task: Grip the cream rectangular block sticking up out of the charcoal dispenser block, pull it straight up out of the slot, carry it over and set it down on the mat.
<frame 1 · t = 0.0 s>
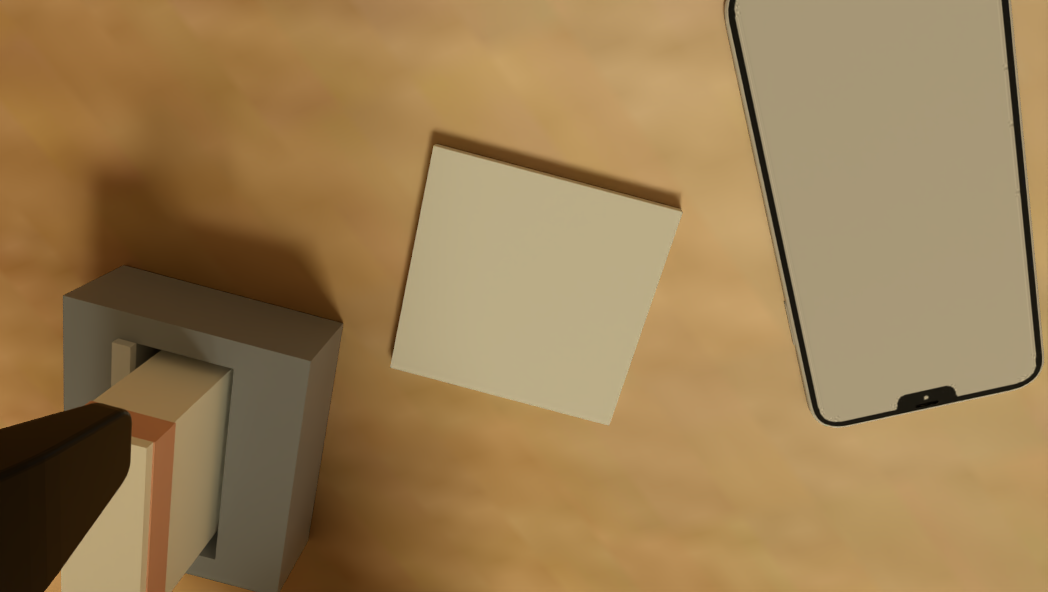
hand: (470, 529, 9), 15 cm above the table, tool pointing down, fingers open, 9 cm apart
dispenser: (222, 412, 26), on the table
smartphone: (884, 193, 22), on the table
cream rectangular block: (223, 411, 26), resting in dispenser
mat: (528, 290, 23), on the table
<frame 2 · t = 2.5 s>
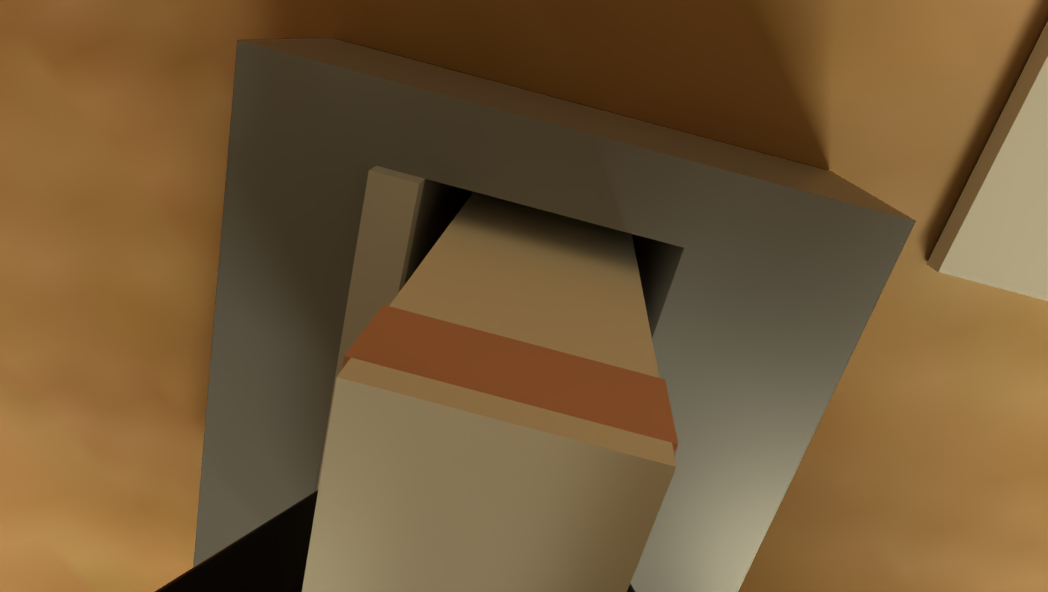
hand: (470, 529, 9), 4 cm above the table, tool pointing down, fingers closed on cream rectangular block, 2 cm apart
dispenser: (506, 380, 12), on the table
cream rectangular block: (507, 378, 13), resting in dispenser, touching gripper
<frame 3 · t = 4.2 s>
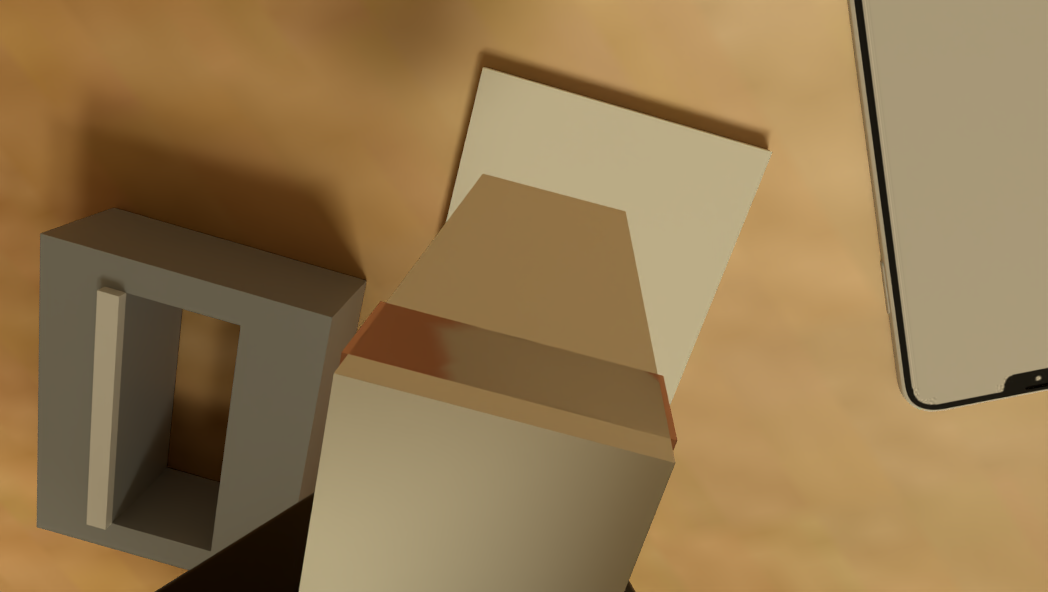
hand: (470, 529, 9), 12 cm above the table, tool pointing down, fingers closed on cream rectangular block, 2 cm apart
dispenser: (223, 383, 23), on the table
smartphone: (1005, 136, 19), on the table
cream rectangular block: (504, 376, 12), point 8 cm above the table, touching gripper
mat: (583, 244, 20), on the table
when the fingers open (5 cm above the table, at t = 5.8 s): cream rectangular block stays where it is, resting on mat.
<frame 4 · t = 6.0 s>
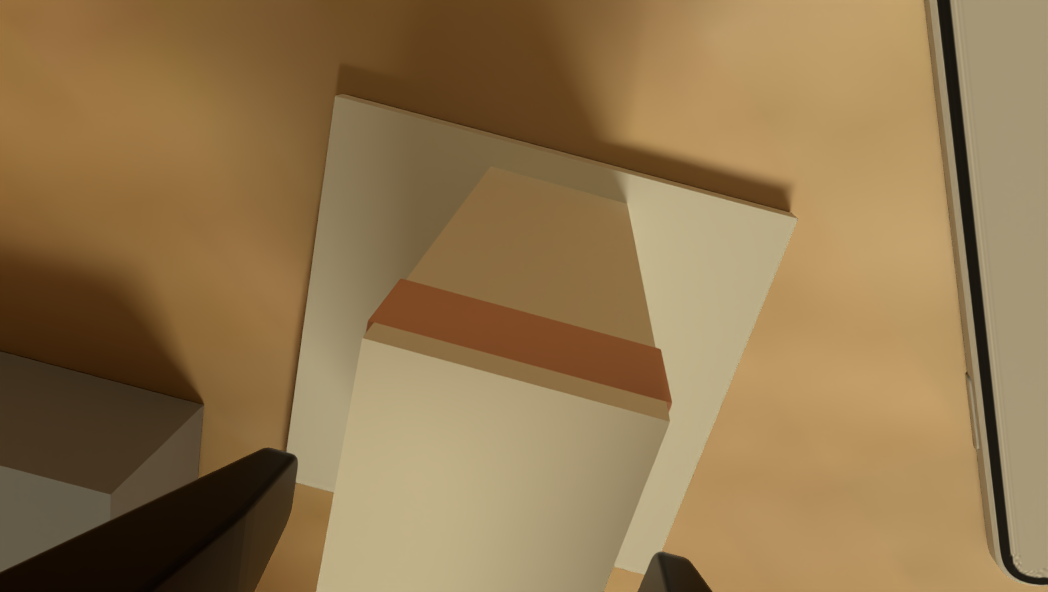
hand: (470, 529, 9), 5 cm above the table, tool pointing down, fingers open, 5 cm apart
dispenser: (26, 539, 16), on the table
cream rectangular block: (509, 362, 13), resting on mat
mat: (513, 354, 13), on the table
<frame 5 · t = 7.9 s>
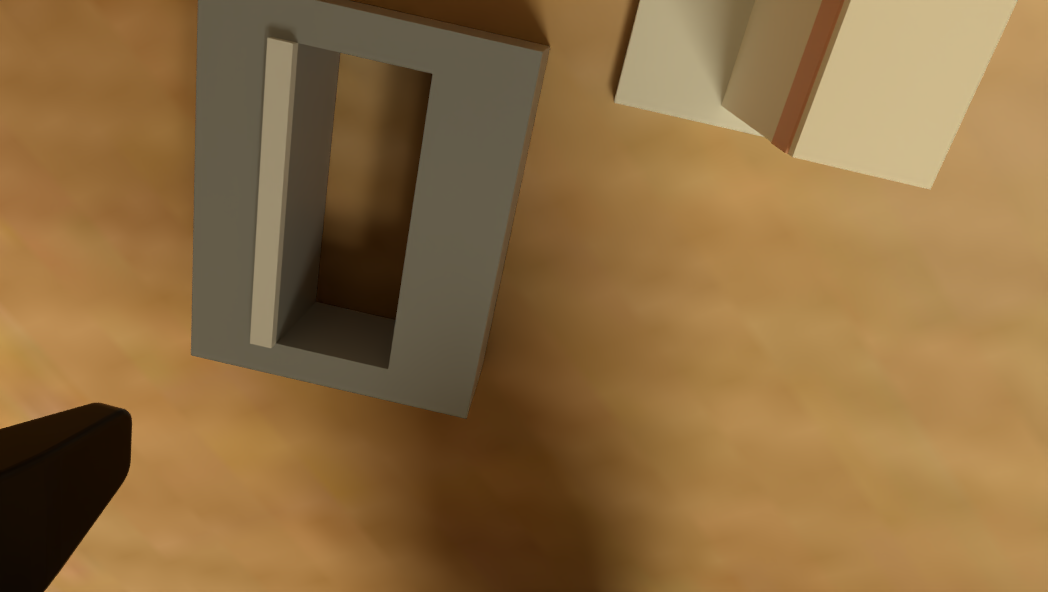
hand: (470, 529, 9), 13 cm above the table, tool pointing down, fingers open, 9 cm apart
dispenser: (380, 192, 20), on the table
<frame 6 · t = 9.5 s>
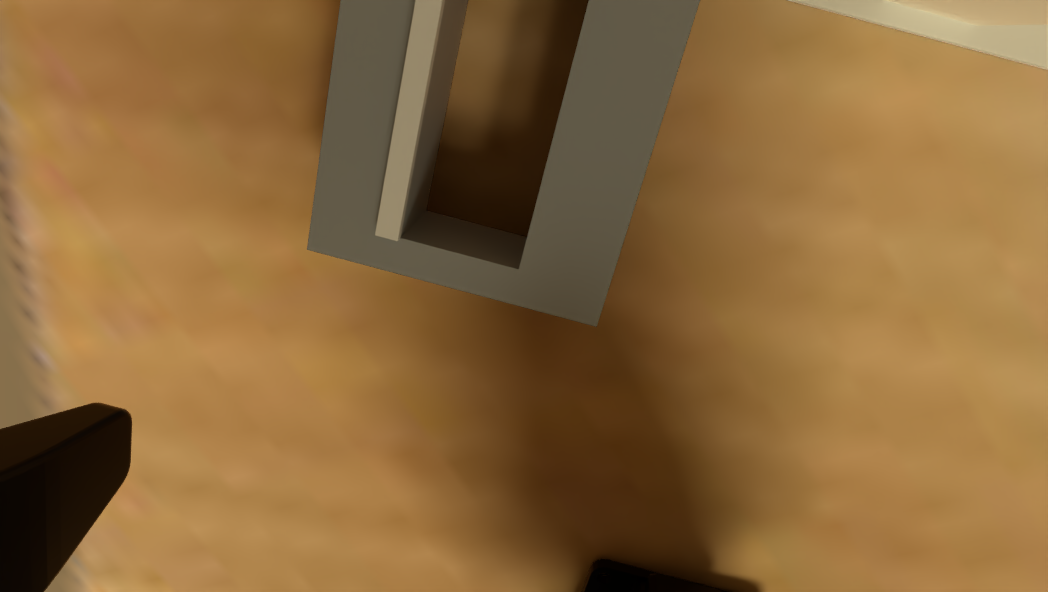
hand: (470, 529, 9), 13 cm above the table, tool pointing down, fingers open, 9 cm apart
dispenser: (508, 90, 19), on the table
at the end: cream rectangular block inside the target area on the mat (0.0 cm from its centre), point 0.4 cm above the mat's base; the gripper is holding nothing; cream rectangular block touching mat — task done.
